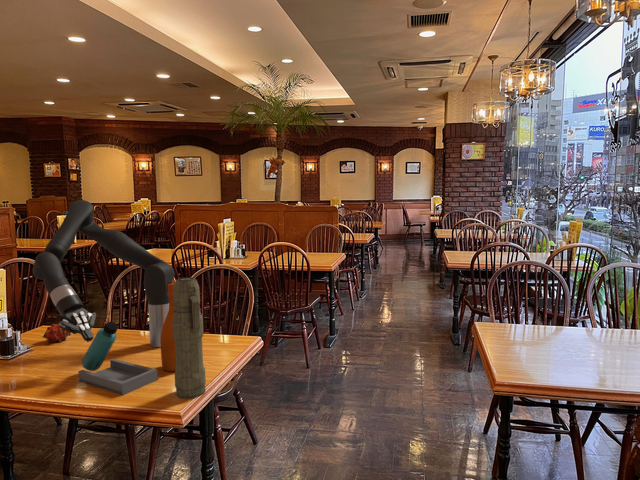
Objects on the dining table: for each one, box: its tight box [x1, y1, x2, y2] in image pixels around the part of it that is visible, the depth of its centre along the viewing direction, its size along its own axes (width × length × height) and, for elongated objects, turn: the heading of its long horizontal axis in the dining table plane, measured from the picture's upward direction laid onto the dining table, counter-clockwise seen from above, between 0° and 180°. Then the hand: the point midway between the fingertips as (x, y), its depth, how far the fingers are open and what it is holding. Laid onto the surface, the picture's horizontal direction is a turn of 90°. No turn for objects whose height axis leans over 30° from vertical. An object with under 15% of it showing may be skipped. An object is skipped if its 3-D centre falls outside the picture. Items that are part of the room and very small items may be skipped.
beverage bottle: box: [81, 321, 119, 372], centre depth 151 cm, size 6×7×20 cm
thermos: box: [172, 276, 207, 400], centre depth 135 cm, size 9×12×35 cm
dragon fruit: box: [42, 321, 73, 343], centre depth 190 cm, size 8×8×12 cm
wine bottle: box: [160, 282, 176, 372], centre depth 156 cm, size 10×10×30 cm
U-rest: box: [77, 358, 159, 396], centre depth 146 cm, size 22×13×4 cm, turn 60°
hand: (90, 339), depth 152 cm, fingers closed
